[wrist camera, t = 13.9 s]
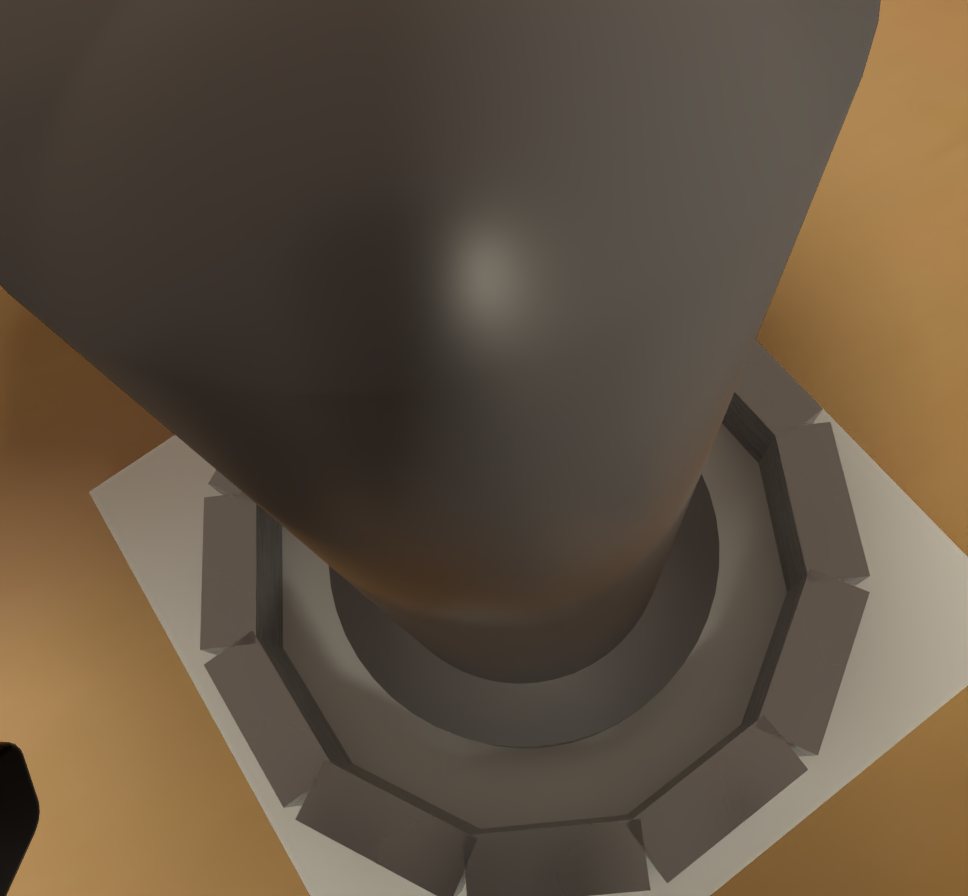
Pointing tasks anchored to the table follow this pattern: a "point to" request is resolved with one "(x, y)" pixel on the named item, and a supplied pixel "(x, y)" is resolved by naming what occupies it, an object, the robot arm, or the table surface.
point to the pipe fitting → (438, 295)
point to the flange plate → (594, 760)
